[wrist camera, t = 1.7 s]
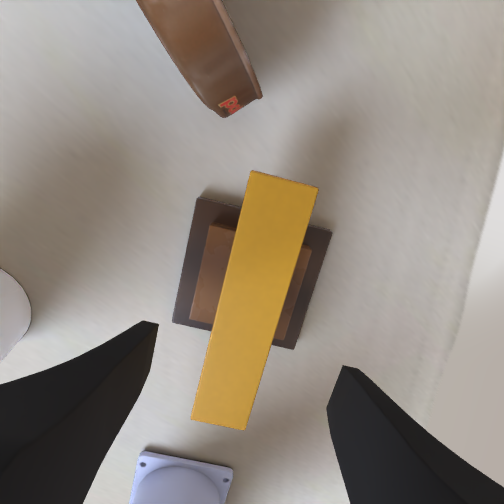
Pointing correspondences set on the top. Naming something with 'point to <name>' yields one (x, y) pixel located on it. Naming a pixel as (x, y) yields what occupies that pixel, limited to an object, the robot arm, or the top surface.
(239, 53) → the tin
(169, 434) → the top surface
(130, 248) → the top surface
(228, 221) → the brown stepped stand
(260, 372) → the bar
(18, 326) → the cup
